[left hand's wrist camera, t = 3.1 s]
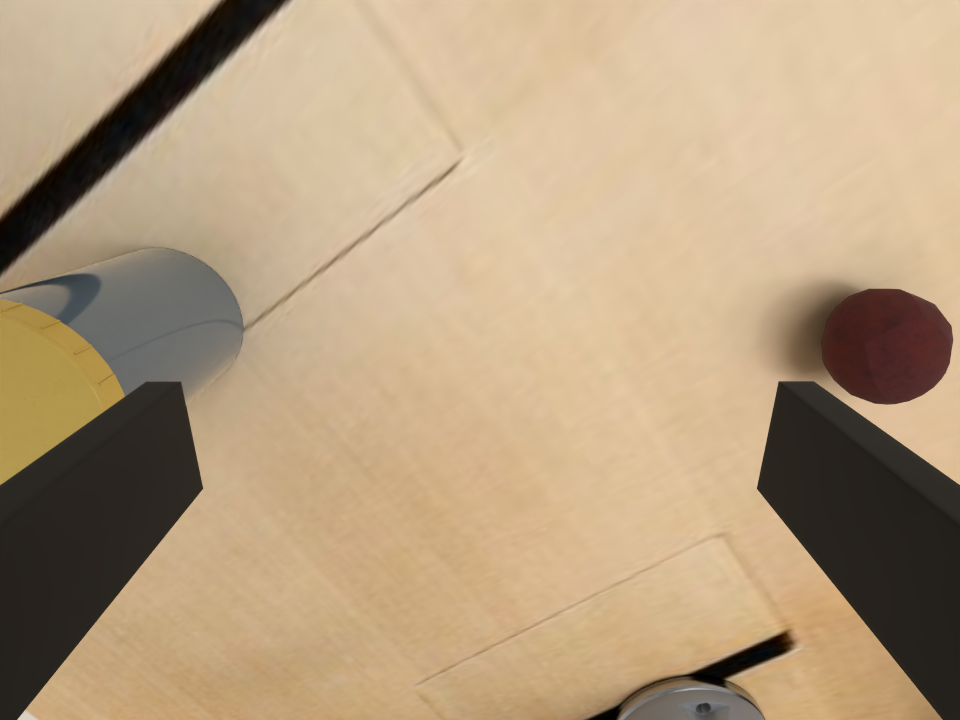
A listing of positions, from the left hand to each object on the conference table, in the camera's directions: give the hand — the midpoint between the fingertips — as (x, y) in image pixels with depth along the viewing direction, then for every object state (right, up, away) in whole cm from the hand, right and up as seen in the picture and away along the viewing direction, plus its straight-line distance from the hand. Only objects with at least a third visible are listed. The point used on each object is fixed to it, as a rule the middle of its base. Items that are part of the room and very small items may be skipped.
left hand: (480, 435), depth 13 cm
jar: (-22, +5, +28) cm, 36 cm away
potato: (+27, +4, +28) cm, 39 cm away
